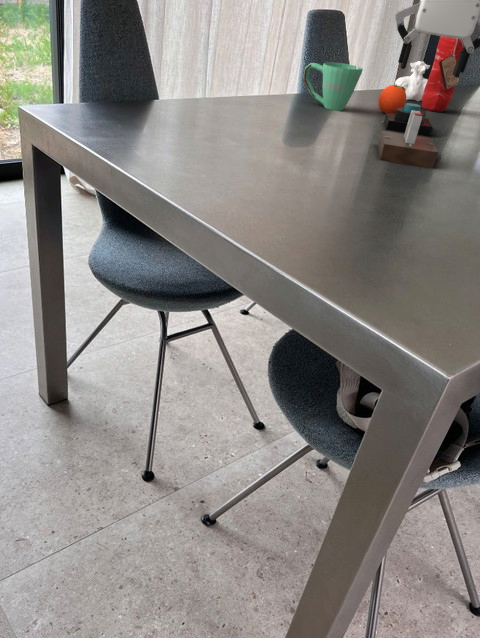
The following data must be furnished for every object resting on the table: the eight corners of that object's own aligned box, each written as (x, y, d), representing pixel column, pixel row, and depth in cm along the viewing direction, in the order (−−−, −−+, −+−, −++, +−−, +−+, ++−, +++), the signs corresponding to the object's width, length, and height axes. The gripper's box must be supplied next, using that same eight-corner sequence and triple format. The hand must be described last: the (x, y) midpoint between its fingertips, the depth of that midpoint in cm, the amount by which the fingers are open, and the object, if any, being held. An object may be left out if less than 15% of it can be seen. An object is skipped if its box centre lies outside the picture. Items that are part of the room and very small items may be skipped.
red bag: (449, 117, 154) (485, 9, 140) (419, 112, 156) (451, 4, 141) (446, 109, 164) (480, 7, 149) (418, 105, 165) (448, 3, 151)
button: (417, 112, 134) (420, 104, 133) (419, 115, 131) (421, 107, 130) (402, 110, 135) (404, 102, 134) (403, 113, 132) (406, 105, 131)
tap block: (426, 153, 117) (431, 137, 115) (432, 168, 108) (438, 151, 106) (377, 145, 119) (382, 129, 117) (379, 160, 109) (384, 143, 107)
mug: (357, 110, 149) (367, 67, 143) (346, 115, 142) (356, 70, 136) (305, 99, 154) (313, 58, 148) (292, 104, 147) (300, 60, 141)
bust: (428, 109, 174) (434, 74, 174) (436, 96, 166) (443, 59, 167) (388, 104, 175) (395, 68, 175) (395, 90, 168) (402, 54, 168)
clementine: (390, 110, 153) (397, 81, 149) (409, 116, 149) (418, 87, 145) (369, 111, 150) (377, 81, 145) (389, 117, 145) (397, 87, 141)
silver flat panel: (403, 136, 114) (411, 108, 111) (411, 138, 113) (420, 110, 110) (405, 143, 109) (414, 114, 106) (414, 144, 109) (423, 115, 106)
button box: (425, 128, 139) (430, 110, 136) (429, 137, 131) (435, 118, 128) (384, 121, 140) (388, 104, 138) (385, 130, 132) (391, 112, 130)
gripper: (512, -34, 96) (473, 77, 106) (410, -48, 98) (380, 62, 108) (523, -36, 90) (480, 82, 100) (414, -50, 92) (382, 67, 102)
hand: (428, 72), depth 104 cm, fingers open, 9 cm apart
